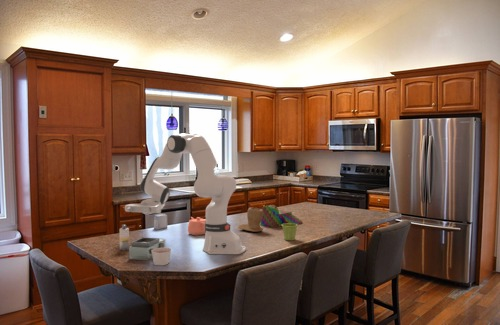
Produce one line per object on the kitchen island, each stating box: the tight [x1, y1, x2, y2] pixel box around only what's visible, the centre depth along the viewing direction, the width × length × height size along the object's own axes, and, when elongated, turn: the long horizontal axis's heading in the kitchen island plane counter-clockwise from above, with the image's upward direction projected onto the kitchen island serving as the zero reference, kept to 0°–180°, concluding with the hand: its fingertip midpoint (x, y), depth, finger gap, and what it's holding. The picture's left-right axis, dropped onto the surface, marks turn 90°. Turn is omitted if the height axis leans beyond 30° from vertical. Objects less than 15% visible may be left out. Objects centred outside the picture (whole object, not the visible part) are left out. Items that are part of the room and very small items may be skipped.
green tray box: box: [128, 237, 166, 261], centre depth 199 cm, size 11×18×8 cm, turn 166°
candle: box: [151, 247, 172, 266], centre depth 184 cm, size 9×9×6 cm
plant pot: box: [281, 223, 299, 242], centre depth 230 cm, size 9×9×9 cm
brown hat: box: [237, 207, 264, 233], centre depth 255 cm, size 15×12×15 cm
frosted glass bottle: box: [119, 224, 130, 251], centre depth 210 cm, size 5×5×13 cm
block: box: [260, 204, 304, 228], centre depth 275 cm, size 25×17×14 cm
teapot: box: [187, 216, 206, 237], centre depth 247 cm, size 12×18×10 cm, turn 34°
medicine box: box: [153, 213, 168, 230], centre depth 265 cm, size 8×4×9 cm, turn 141°
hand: (135, 210), depth 221 cm, fingers open, 8 cm apart
